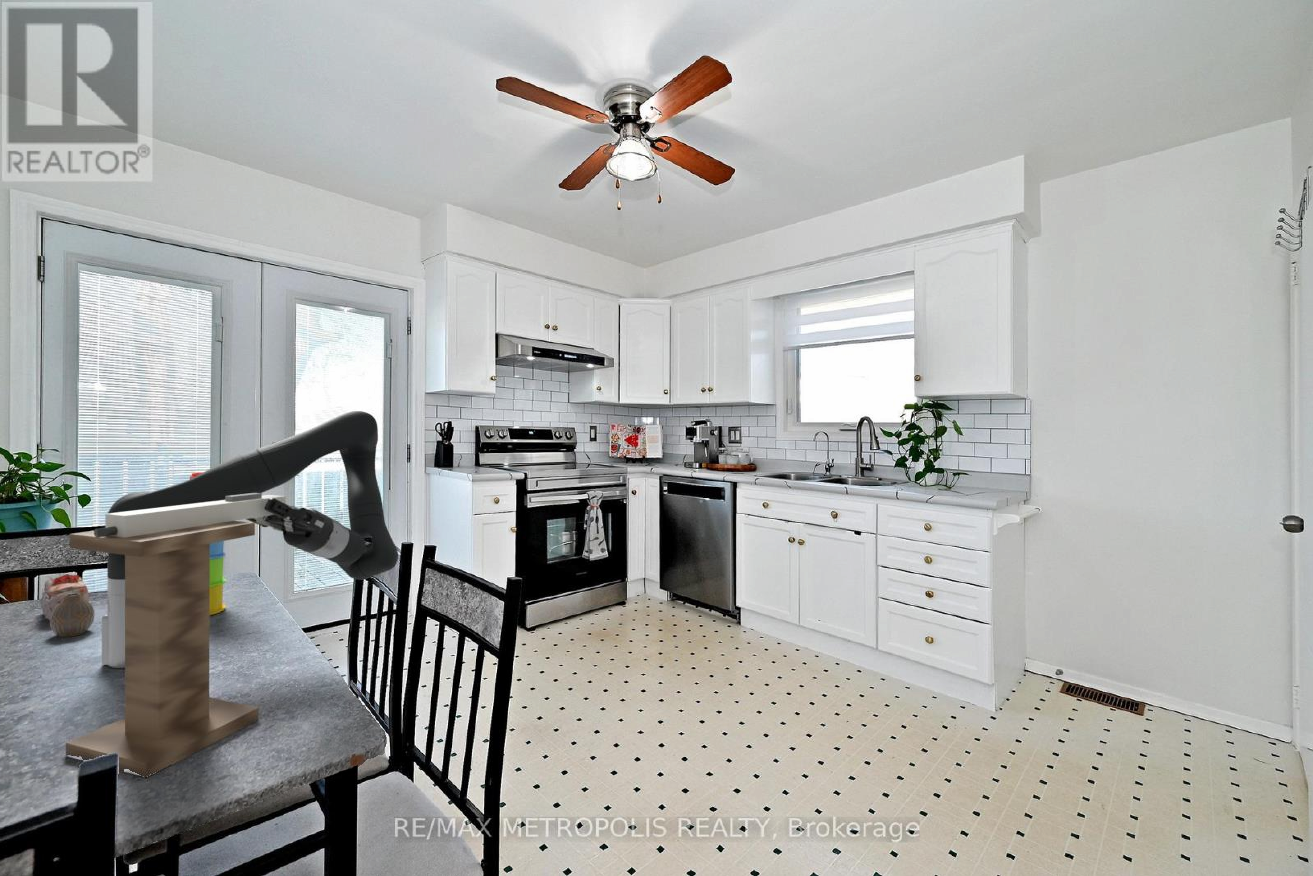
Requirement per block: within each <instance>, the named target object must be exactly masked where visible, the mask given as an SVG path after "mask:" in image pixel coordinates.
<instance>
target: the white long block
mask: <svg viewBox="0 0 1313 876" xmlns="http://www.w3.org/2000/svg"><path fill="white" fill-rule="evenodd" d="M270 498H274V499H277V500H279V501H281V502H283V503H285V504H287V502H286V500H287V499H286V495H277V494H264V495H263V494H262V493H249V494H240V495H231V496H225V500H220V501H211V502H203V503H194V504H186V505H177V506H169V507H160V508H151V509H143V510H134V511H126V512H117V513H109V514H108V513H105V514H104V515H105V518H104V521H105V524H104V525H105V526H104V527H100V528H95V529H94V530H93V531H94V535H95V537H97V538H98V537H104V536H116V537H124V538H125V537H131V536H138V535H144V534H151V533H157V532H164V531H170V530H177V529H183V528H190V527H196V526H203V525H210V524H216V523H223V522H229V521H241V520H246V519H249V518H255V517H262V516H268V515H275V514H272V513H270V512H268V511H266V510H265V509H264V508H265V505H266V503H267V501H268V500H269V499H270Z"/></svg>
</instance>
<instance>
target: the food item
mask: <svg viewBox="0 0 1313 876" xmlns="http://www.w3.org/2000/svg"><path fill="white" fill-rule="evenodd" d="M83 580H84V579H82V577H81V576H80V575H78V574H68V573H67V574H64V575H61V576H58V577H54V578H53V577H50V576H49V579H48V580H46V581H45V583H44V589H43V588H42V593H41V598H40V604H41V605H40V606H41V610H42V615H44V618H45V620H48V621H49V622H50V616H51V614H52V611H53V610H54V608H55V607H56V606H57V605H58V604H59V603H60V602H61V601H62V600H63V598H64V596H65V595H67V594H72V593H80V594H81V596H82V597H83V598H84V599H86V600H87V601H88V602H89V603H90V601H89V597H90V596H89V589H88V586H87V585H86V583H85V582H84V581H83Z"/></svg>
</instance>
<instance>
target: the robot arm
mask: <svg viewBox="0 0 1313 876" xmlns="http://www.w3.org/2000/svg"><path fill="white" fill-rule="evenodd" d="M378 428H379V427H378V422H377V420H376V418H375V417H374V416H373V415H372V414H371V413H368V412H366V411H362V410H360V411H359V410H355V411H354V410H353V411H349V412H345V413H343V414H340V415H338V416H336V417H333V418H330V419H329V420H327V421H325V422H323V423H321V424H319V425H317V426H314V427H312V428H310V429H307V430H305V431H303V432H301V433H298V434H295V435H291V436H290V437H286V438H284V439H281V440H279V441H276V442H273V443H271V444H270V443H269V444H268V445H265V446H262V447H261V446H260V447H258V448H256V449H253V450H250V451H248V452H244V453H241V454H239V455H236V456H234V457H231V458H230V459H227V460H225V461H223V462H220V463H219V464H217V465H214V466H213V467H211V468H209V469H207V470H205V471H204V472H201V473H202V474H200V475H198V476H196V477H194V478H192V479H190V478H189V479H188V480H185V481H183V482H179V483H177V484H173V485H171V486H167V487H164V488H161V489H157V490H154V491H150V492H149V491H135V492H131V493H127V494H125V495H123V496H121V497H119V498H118V499H117V500H116V501H114V502H113V504H112V505H111V507H110V508H109V510H108V511H107V514H109V513H117V512H126V511H134V510H143V509H151V508H160V507H169V506H177V505H186V504H194V503H203V502H211V501H220V500H225V496H231V495H240V494H249V493H265V492H268V491H270V490H272V489H276V487H279V486H281V485H285V483H287V482H290V481H291V480H292V479H293V478H295V477H296V476H298V475H299V474H300V473H302V472H303V471H304V470H305V469H307V468H308V467H310V465H312V464H313V463H315V462H316V461H318V460H319V459H321V458H323V457H325V456H327V455H330V454H332V453H334V452H337V451H339V454H340V456H341V459H342V462H343V466H344V469H345V475H346V481H347V482H346V483H347V510H348V518H349V527H350V528H348V527H346V526H344V525H343V524H342V523H341V522H339V521H338V520H335V519H334V518H331V517H329V516H328V515H326V514H324V513H322V512H320V511H319V510H316V509H314V508H311V507H310V508H309V507H306V508H305V507H299V508H298V507H296V506H294V505H289V504H287V503H286V504H285V503H283V502H281V501H279V500H277V499H274V498H270V499H269V500H268V501H267V503H266V505H265V508H264V509H265V510H266V511H268V512H270V513H272V514H275V515H268V516H262V517H255V518H249V519H245V520H247V521H248V522H252V523H255V524H256V525H258V526H261V527H262V528H268V527H270V528H271V529H273V530H274V531H278V532H282V536H283V537H282V538H283V539H284V541H285V542H286V544H287V545H289V546H292V547H293V548H296V549H298V550H302V551H303V552H306V553H308V554H310V555H313V556H316V557H319V558H322V559H325V560H328V561H330V562H333V563H335V564H336V565H338V567H339V568H340V569H342V571H343V572H344V573H346V575H347V576H348V577H349V578H351V579H353V580H358V581H359V580H360V581H361V580H368V579H369V578H372V577H375V576H378V575H380V574H383V573H386V572H388V571H391V570H392V569H393V568H395V567H396V565H397V564H398V561H399V560H398V559H399V552H398V549H397V546H396V544H395V542H394V540H393V539H392V537H391V534H390V532H389V529H388V527H387V524H386V520H385V515H384V514H385V513H384V506H383V501H382V496H381V491H380V487H379V483H378V479H377V473H376V472H377V471H376V453H377V444H378V441H379V433H378V432H379V429H378ZM365 538H366V539H367V538H370V539H371V542H370V543H368V544H366V541H365ZM106 567H107V569H106V570H107V571H106V572H107V577H106V578H107V614H104V615H103V616H102V617H101V666H105V665H106V666H108V667H109V668H113V669H125V555H122V554H114V553H108V555H107V566H106Z"/></svg>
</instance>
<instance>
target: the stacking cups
mask: <svg viewBox="0 0 1313 876" xmlns="http://www.w3.org/2000/svg"><path fill="white" fill-rule="evenodd" d="M202 473H203V472H193V473H191V475H189V480H190V479H192V478H194V477H196V476H198V475H200V474H202ZM224 542H225V541H221V542H216V543H211V544H210V615H209V616H212V615H215V614H219V613H221V611H222V612H223V611H225V610H226V607H227V605H225V604H223V595H224V593H223V592H224V591H223V590H224V588H223V587H224V584H225V583H226V582H227V579H226V578H224V557H225V556H226V555H227V554H226V552H224V545H225V544H224ZM224 609H225V610H224Z"/></svg>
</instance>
